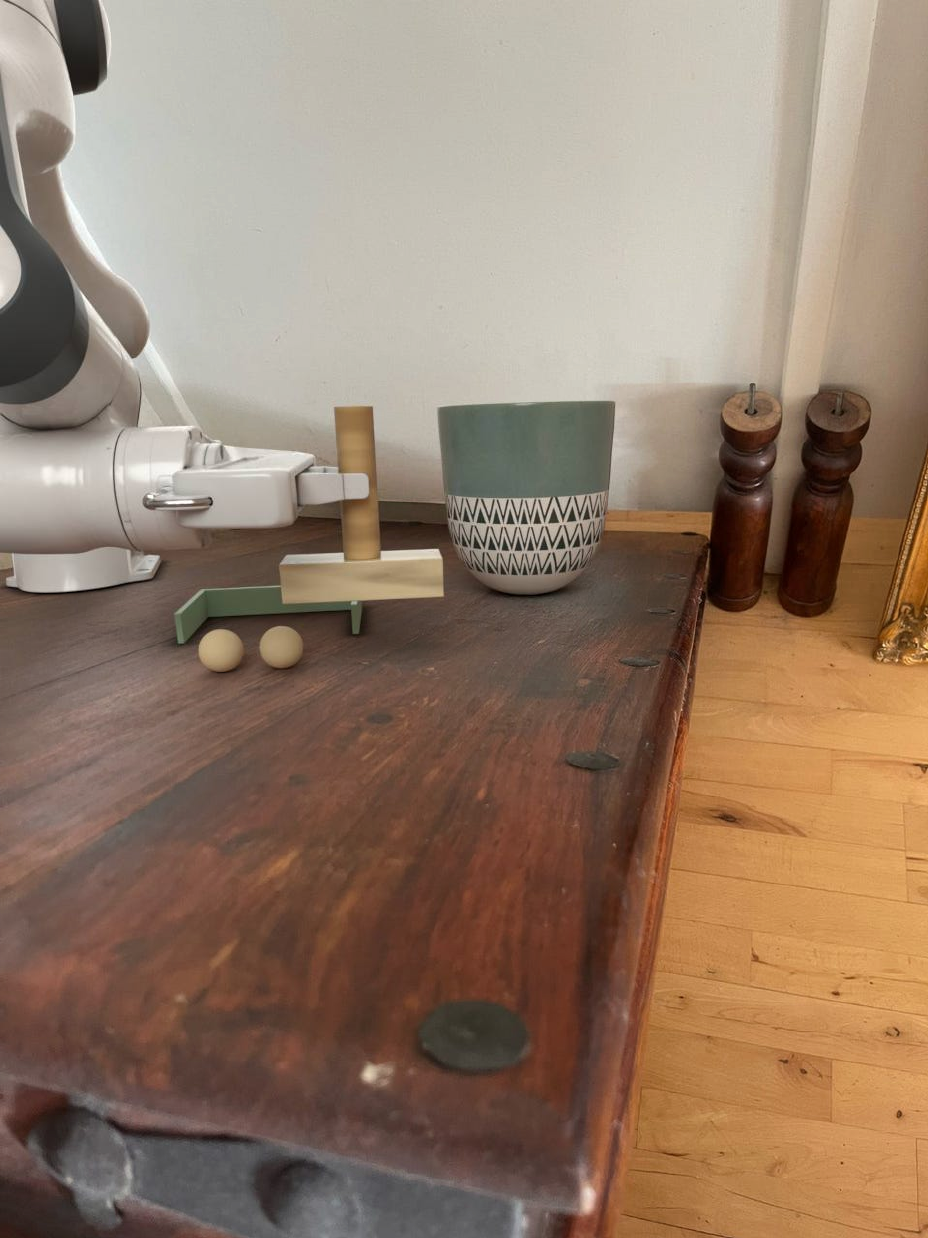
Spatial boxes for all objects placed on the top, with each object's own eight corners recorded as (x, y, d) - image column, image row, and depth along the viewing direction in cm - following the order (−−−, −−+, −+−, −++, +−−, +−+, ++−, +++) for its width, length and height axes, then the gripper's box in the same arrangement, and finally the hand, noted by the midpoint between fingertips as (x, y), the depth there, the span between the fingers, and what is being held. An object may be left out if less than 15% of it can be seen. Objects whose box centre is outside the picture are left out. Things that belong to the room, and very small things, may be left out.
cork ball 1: (206, 665, 65) (201, 625, 64) (248, 662, 65) (244, 623, 64) (196, 679, 61) (191, 637, 60) (241, 676, 62) (236, 634, 61)
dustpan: (221, 597, 90) (218, 573, 89) (364, 590, 92) (362, 566, 91) (177, 644, 71) (173, 613, 70) (358, 634, 73) (356, 604, 72)
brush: (289, 592, 59) (273, 408, 55) (440, 585, 60) (434, 404, 56) (282, 604, 55) (264, 407, 51) (444, 597, 56) (438, 404, 52)
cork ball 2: (265, 661, 65) (261, 622, 64) (306, 659, 65) (303, 620, 65) (258, 675, 62) (254, 633, 61) (302, 672, 62) (298, 631, 61)
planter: (609, 574, 97) (613, 402, 91) (612, 612, 78) (617, 399, 72) (459, 573, 100) (454, 407, 95) (427, 609, 81) (419, 405, 76)
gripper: (124, 450, 43) (363, 444, 45) (205, 439, 63) (370, 435, 64) (139, 557, 45) (369, 548, 46) (213, 514, 65) (374, 508, 66)
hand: (370, 482), depth 55 cm, fingers closed on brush, 3 cm apart
